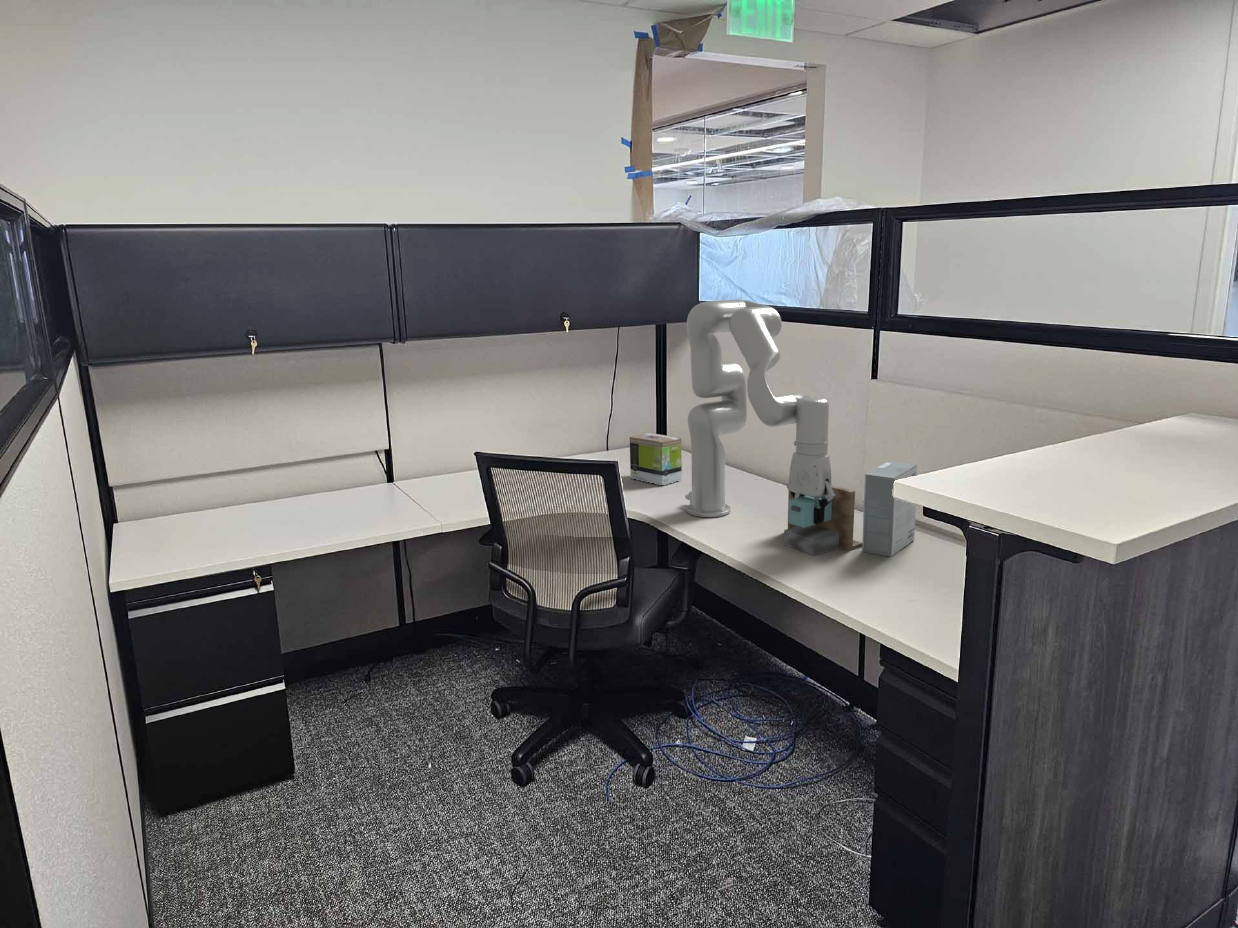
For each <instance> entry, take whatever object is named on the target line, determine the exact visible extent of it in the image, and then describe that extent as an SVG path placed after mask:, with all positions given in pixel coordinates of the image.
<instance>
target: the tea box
mask: <svg viewBox="0 0 1238 928" xmlns="http://www.w3.org/2000/svg"><path fill="white" fill-rule="evenodd" d="M629 459H630V460H629V463H630V465H629V466H630V467H629V469H630V479H631V478H632V479H631V480H634V479H636V480H635V481H639V480H641V481H640V482H643V481H644V482H645V483H648V482H649V483H648V484H652V483H654V485H657V486H661V485H664V486H667V485H666V484H668V483H672V482H675V483H677V482H676V481H678V480H681V481H682V475H683V474H682V461H683V460H682V438H681V437H678V436H671V435H666V434H660V433H659V434H658V433H653V432H647V433H642V434H638V435H633V436H629ZM672 484H673V483H672ZM668 485H669V484H668Z"/></svg>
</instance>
